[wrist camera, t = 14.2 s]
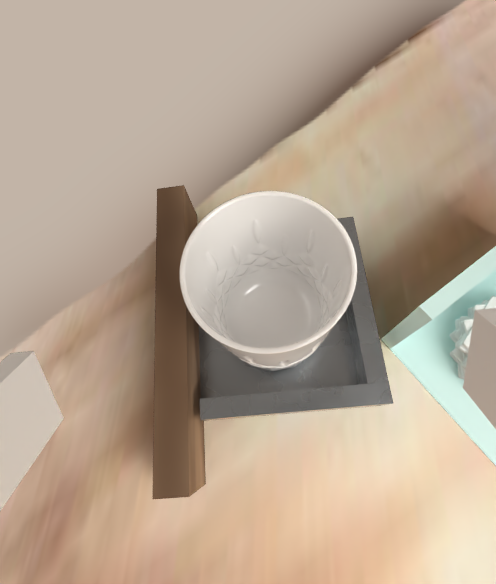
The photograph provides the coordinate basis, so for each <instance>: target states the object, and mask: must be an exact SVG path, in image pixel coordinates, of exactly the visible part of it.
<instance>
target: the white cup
mask: <svg viewBox="0 0 496 584" xmlns="http://www.w3.org/2000/svg"><path fill="white" fill-rule="evenodd" d="M356 280H357V261H356V255H355V251H354V247H353V244H352V242H351V239H350V237H349V235H348V233H347V232H346V230H345V229H344V227H343V226H342V224H341V223H340V222H339V221H338V220H337V218H336V217H335V216H334V215H333V214H331V213H330V212H329V211H328V210H327V209H325V208H324V207H323V206H321V205H319V204H318V203H316V202H314V201H312V200H310V199H308V198H306V197H303V196H300V195H297V194H293V193H288V192H282V191H260V192H253V193H248V194H244V195H241V196H238V197H235V198H233V199H231V200H229V201H227V202H225V203H223V204H221V205H220V206H218V207H216V208H215V209H214V210H212V211H211V212H210V213H209V214H207V215H206V216H205V217H204V218H203V219H202V220H201V221H200V223H199V224H198V225H197V226H196V228H195V229H194V230H193V232H192V233H191V235H190V237H189V239H188V241H187V243H186V245H185V248H184V250H183V254H182V257H181V263H180V286H181V291H182V295H183V298H184V301H185V304H186V306H187V308H188V310H189V312H190V313H191V315H192V317H193V318H194V319H195V321H196V322H197V323H198V324H199V325H200V327H201V328H202V329H203V330H204V331H206V332H207V333H208V334H209V335H210V336H212V337H213V338H214V339H215V340H216V341H218V342H219V343H220V344H221V345H222V346H224V347H225V348H226V349H227V350H229V352H231V353H232V354H233V355H235V356H236V357H238V358H239V359H241V360H243V361H244V362H246V363H248V364H249V365H251V366H254V367H257V368H261V369H265V370H269V371H277V370H283V369H288V368H293V367H295V366H297V365H298V364H299V363H301V362H302V361H303V360H305V359H306V358H307V357H309V356H310V355H311V354H312V353H313V352H314V351H315V350H316V349H317V348H318V347H319V346H320V345H321V344H322V343H323V341H324V340H325V339H326V337H327V336H328V335H329V333H330V332H331V330H332V329H333V328H334V326H335V325H336V323H337V322H338V321H339V319H340V318H341V317H342V315H343V314H344V312H345V311H346V309H347V307H348V305H349V303H350V301H351V299H352V296H353V293H354V290H355V286H356Z"/></svg>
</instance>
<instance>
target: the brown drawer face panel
mask: <svg viewBox="0 0 496 584" xmlns="http://www.w3.org/2000/svg"><path fill="white" fill-rule="evenodd" d="M196 226H197V214H196V212H195V210H194V208H193V206H192V203H191V201H190V199H189V196H188V194H187V192H186V189H185V187H184V186H176V187H169V188H161V189H157V237H156V305H155V374H154V442H153V499H163V498H177V497H189V496H191V495H192V494H193V493H195V492H196V491H197V490H198V489H200V488H201V487H202V486H204V485H205V484H206V483H205V452H204V421H201V420H200V399H201V388H200V355H199V324H198V323H197V322H196V321H195V319H194V318H193V317H192V315H191V313H190V312H189V310H188V308H187V306H186V304H185V301H184V298H183V295H182V291H181V286H180V263H181V257H182V254H183V250H184V248H185V245H186V243H187V241H188V239H189V237H190V235H191V233H192V232H193V230H194V229H195V228H196Z"/></svg>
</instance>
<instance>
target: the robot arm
mask: <svg viewBox="0 0 496 584" xmlns="http://www.w3.org/2000/svg"><path fill="white" fill-rule="evenodd" d="M463 389H464V390H465V391H466V392H467V394H468V395H469V396H470V398H471V399H472V400H473V401H474V403H475V404H476V405H477V406H478V408H479V409H480V410H481V411H482V413H483V414H484V415H485V416H486V418H487V419H488V420H489V421H490V423H491V424H492V425H493V426H494V428H495V429H496V308H490V309H479V310H475V313H474V320H473V326H472V332H471V339H470V345H469V352H468V358H467V364H466V371H465V377H464V383H463ZM63 419H64V418H63V415H62V413H61V411H60V409H59V406H58V404H57V402H56V400H55V397H54V395H53V393H52V391H51V388H50V386H49V384H48V382H47V379H46V377H45V375H44V373H43V371H42V368H41V366H40V364H39V362H38V359H37V357H36V355H35V353H34V351H29V352H18V353H10V354H9V355H8V356H7V357H6V358H5V359H3V360H2V361H1V362H0V511H1V510H2V508H3V507H4V505H5V504H6V502H7V501H8V499H9V498H10V496H11V495H12V493H13V492H14V491H15V489H16V488H17V486H18V485H19V483H20V482H21V480H22V479H23V477H24V476H25V474H26V473H27V472H28V470H29V469H30V467H31V466H32V464H33V463H34V461H35V460H36V458H37V457H38V455H39V454H40V453H41V451H42V450H43V448H44V447H45V445H46V444H47V442H48V441H49V439H50V438H51V436H52V435H53V434H54V432H55V431H56V429H57V428H58V426H59V425H60V423H61V422H62V420H63Z"/></svg>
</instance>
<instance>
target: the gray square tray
mask: <svg viewBox="0 0 496 584" xmlns="http://www.w3.org/2000/svg"><path fill="white" fill-rule="evenodd" d="M337 220H338V221H339V222H340V223H341V224H342V226H343V227H344V229H345V230H346V232H347V233H348V235H349V237H350V239H351V242H352V244H353V247H354V251H355V255H356V261H357V280H356V286H355V290H354V293H353V296H352V299H351V301H350V303H349V305H348V307H347V309H346V311H345V312H344V314H343V315H342V317H341V318H340V319H339V321H338V322H337V323H336V325H335V326H334V328H333V329H332V330H331V332H330V333H329V335H328V336H327V337H326V339H325V340H324V341H323V343H322V344H321V345H320V346H319V347H318V348H317V349H316V350H315V351H314V352H313V353H312V354H311V355H310V356H309V357H307V358H306V359H305V360H303V361H302V362H301V363H299V364H298V365H297V366H295V367H293V368H288V369H283V370H277V371H269V370H265V369H261V368H257V367H254V366H251V365H249V364H248V363H246V362H244V361H243V360H241V359H239V358H238V357H236V356H235V355H233V354H232V353H231V352H229V350H227V349H226V348H225V347H224V346H222V345H221V344H220V343H219V342H218V341H216V340H215V339H214V338H213V337H212V336H210V335H209V334H208V333H207V332H206V331H204V330H203V329H202V328H201V327H200V325H199V355H200V388H201V399H200V420H201V421H205V420H217V419H229V418H240V417H252V416H264V415H275V414H287V413H299V412H310V411H322V410H334V409H345V408H357V407H369V406H380V405H386V404H392V403H393V400H392V395H391V391H390V386H389V381H388V377H387V372H386V367H385V363H384V358H383V353H382V349H381V344H380V339H379V335H378V330H377V326H376V321H375V316H374V312H373V307H372V302H371V298H370V293H369V288H368V284H367V279H366V274H365V270H364V265H363V260H362V256H361V251H360V246H359V242H358V237H357V232H356V228H355V223H354V218H353V217H347V218H339V219H337Z"/></svg>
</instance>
